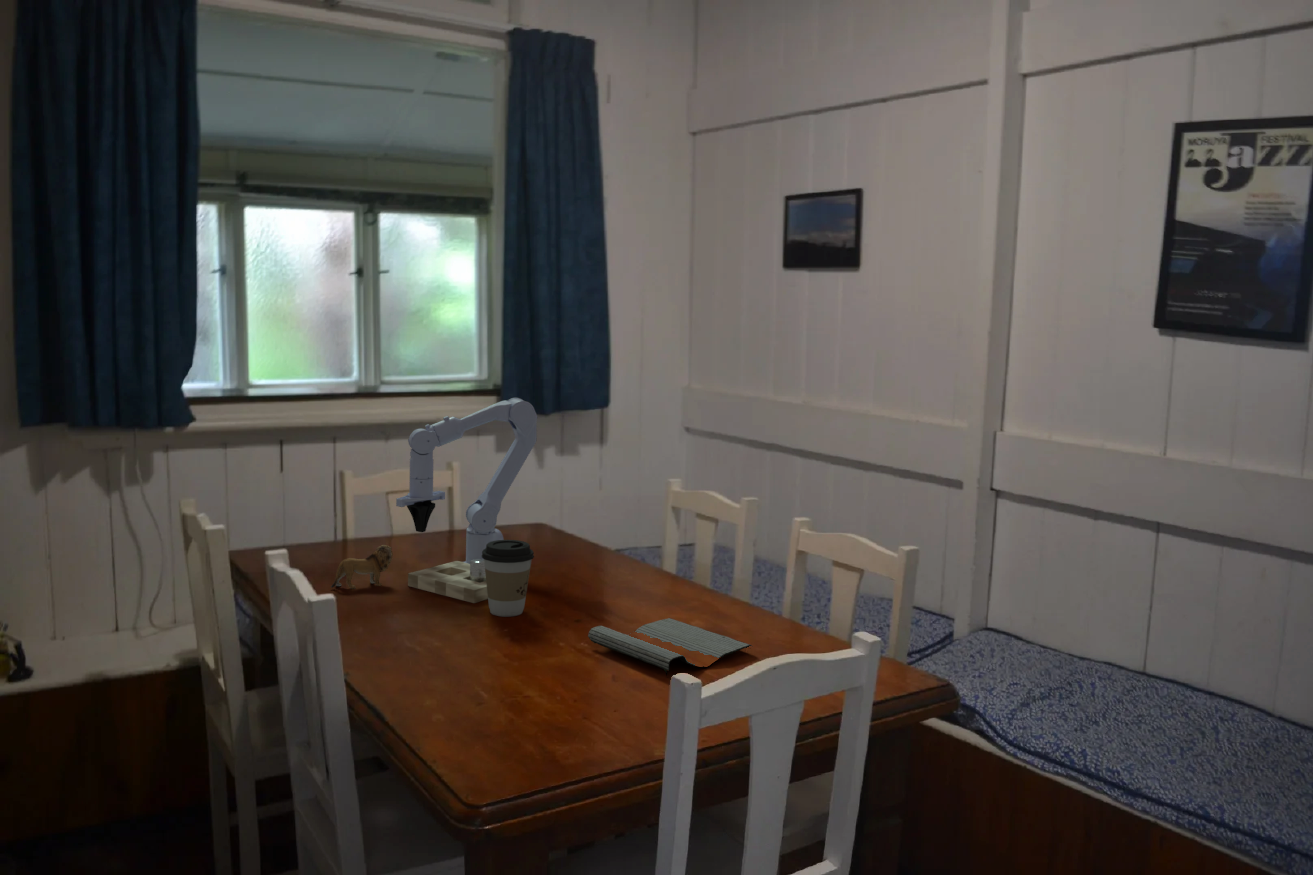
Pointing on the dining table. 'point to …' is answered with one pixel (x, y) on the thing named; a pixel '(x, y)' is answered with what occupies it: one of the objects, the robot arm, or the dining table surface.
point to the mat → (666, 632)
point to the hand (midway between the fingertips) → (420, 531)
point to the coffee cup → (507, 575)
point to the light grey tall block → (477, 570)
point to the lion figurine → (365, 566)
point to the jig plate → (449, 582)
